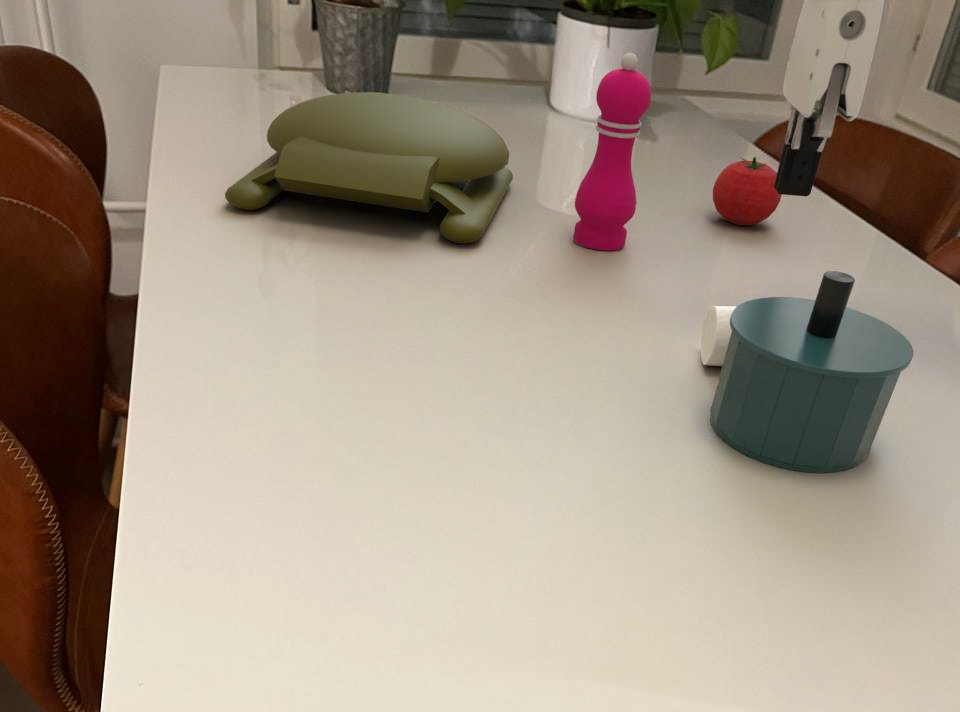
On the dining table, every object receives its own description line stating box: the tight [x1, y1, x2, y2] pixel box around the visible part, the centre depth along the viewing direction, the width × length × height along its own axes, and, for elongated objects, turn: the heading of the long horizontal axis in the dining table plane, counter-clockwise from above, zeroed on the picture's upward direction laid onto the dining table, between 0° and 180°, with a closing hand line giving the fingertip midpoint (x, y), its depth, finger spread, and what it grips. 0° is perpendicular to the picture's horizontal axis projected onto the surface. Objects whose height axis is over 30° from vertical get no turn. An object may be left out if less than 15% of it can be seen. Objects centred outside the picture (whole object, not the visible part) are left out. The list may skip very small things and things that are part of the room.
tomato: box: [712, 156, 782, 226], centre depth 128 cm, size 9×9×8 cm
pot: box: [709, 331, 902, 474], centre depth 82 cm, size 14×14×8 cm
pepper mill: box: [573, 52, 652, 252], centre depth 112 cm, size 7×7×20 cm
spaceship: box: [224, 91, 514, 245], centre depth 124 cm, size 35×31×10 cm
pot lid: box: [730, 270, 914, 378], centre depth 78 cm, size 15×15×6 cm
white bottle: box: [700, 305, 737, 367], centre depth 93 cm, size 6×12×6 cm, turn 88°
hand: (791, 192), depth 94 cm, fingers closed
